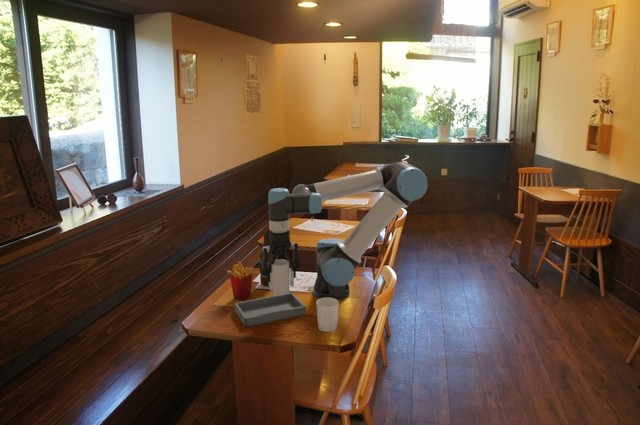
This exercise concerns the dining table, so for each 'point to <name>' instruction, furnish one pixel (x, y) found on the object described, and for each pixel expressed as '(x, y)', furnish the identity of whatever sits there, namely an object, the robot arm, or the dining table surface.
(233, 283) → the french fries
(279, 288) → the mug
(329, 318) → the white cup
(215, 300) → the dining table surface
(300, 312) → the tray
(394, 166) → the robot arm
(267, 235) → the beer bottle
